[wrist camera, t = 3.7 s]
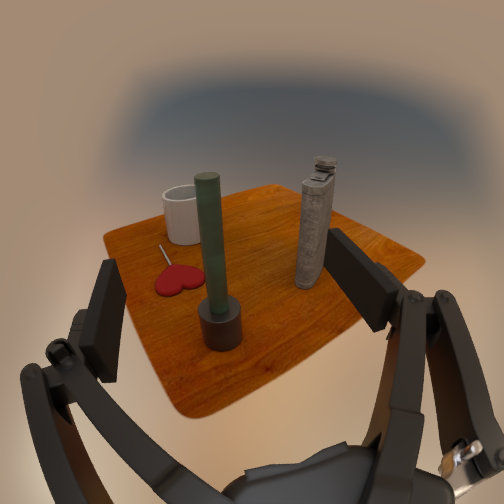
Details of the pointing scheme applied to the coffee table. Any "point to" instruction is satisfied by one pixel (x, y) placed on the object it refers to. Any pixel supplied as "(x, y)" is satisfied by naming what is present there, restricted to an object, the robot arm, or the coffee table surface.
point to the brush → (215, 269)
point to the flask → (315, 221)
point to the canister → (181, 215)
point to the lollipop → (178, 278)
